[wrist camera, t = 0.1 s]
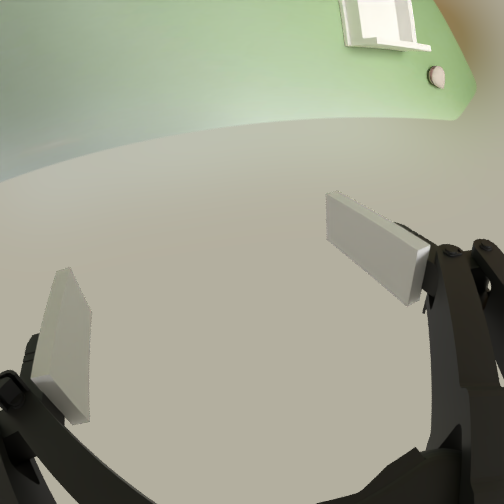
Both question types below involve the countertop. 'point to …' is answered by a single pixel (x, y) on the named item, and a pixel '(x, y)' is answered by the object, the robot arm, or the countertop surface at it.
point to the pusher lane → (380, 25)
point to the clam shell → (437, 76)
